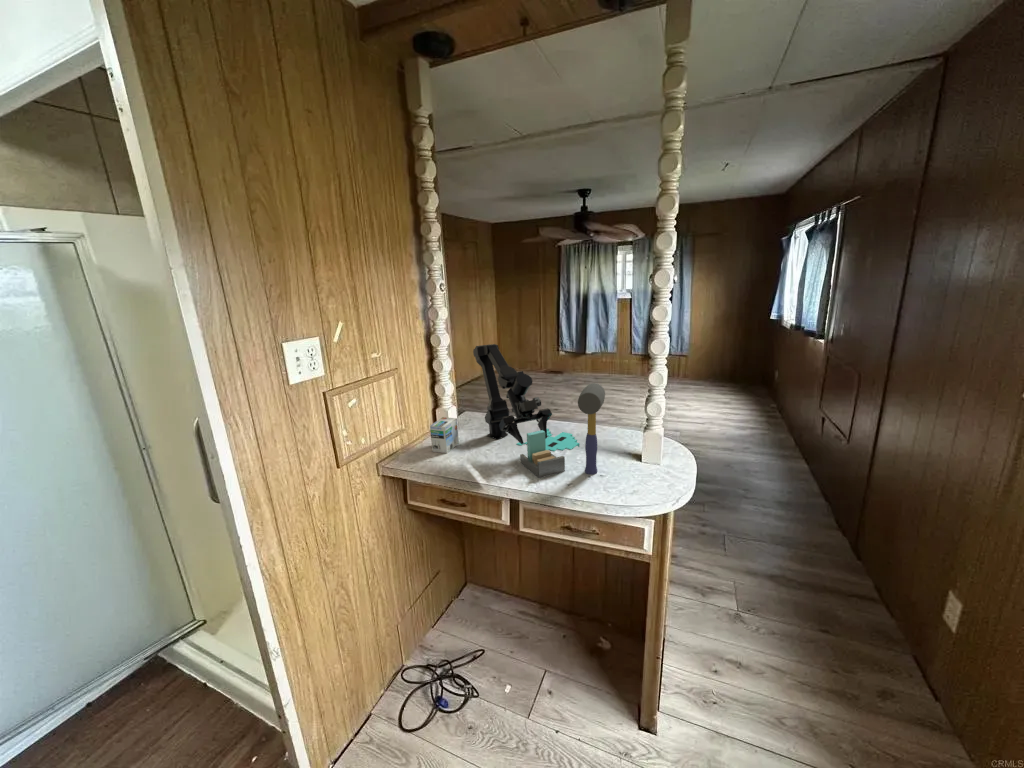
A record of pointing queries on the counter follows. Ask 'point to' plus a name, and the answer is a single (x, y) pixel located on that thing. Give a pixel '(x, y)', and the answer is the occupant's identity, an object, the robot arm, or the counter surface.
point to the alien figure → (559, 441)
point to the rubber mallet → (591, 421)
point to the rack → (544, 466)
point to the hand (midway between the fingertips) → (534, 440)
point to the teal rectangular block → (535, 443)
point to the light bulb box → (444, 434)
